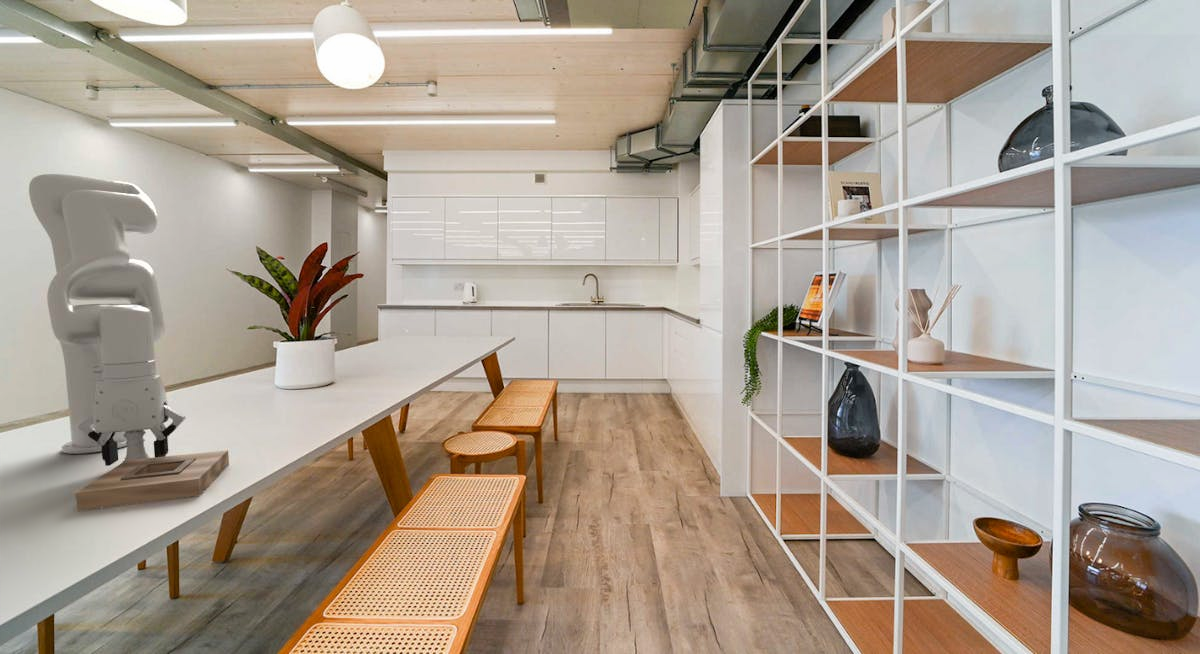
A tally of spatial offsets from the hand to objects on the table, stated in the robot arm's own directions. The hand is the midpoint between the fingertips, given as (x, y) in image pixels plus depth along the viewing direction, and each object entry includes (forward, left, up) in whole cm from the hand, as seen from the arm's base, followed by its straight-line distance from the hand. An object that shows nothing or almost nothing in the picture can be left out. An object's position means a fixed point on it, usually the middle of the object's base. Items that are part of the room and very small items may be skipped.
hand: (136, 460), depth 98 cm
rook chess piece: (0, 0, -2) cm, 2 cm away
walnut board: (+12, +8, -2) cm, 15 cm away
